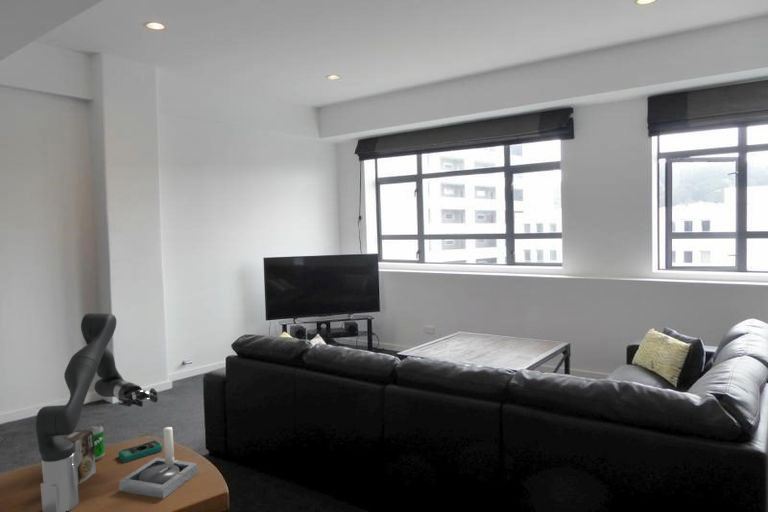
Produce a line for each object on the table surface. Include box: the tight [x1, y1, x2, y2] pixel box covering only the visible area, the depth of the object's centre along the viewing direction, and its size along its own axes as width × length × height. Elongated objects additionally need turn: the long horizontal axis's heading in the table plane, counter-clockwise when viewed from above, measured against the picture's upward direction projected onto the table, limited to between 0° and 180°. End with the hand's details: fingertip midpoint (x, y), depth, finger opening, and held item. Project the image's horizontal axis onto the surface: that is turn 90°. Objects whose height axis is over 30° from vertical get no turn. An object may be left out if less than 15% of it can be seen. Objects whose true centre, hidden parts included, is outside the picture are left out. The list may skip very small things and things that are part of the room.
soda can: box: [82, 424, 106, 462], centre depth 207 cm, size 8×8×12 cm
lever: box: [139, 426, 180, 485], centre depth 187 cm, size 13×13×16 cm
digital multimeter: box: [118, 440, 163, 463], centre depth 210 cm, size 7×15×3 cm, turn 132°
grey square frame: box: [118, 457, 199, 499], centre depth 188 cm, size 18×18×4 cm
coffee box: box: [63, 429, 97, 486], centre depth 191 cm, size 9×6×16 cm
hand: (148, 401), depth 199 cm, fingers open, 5 cm apart
